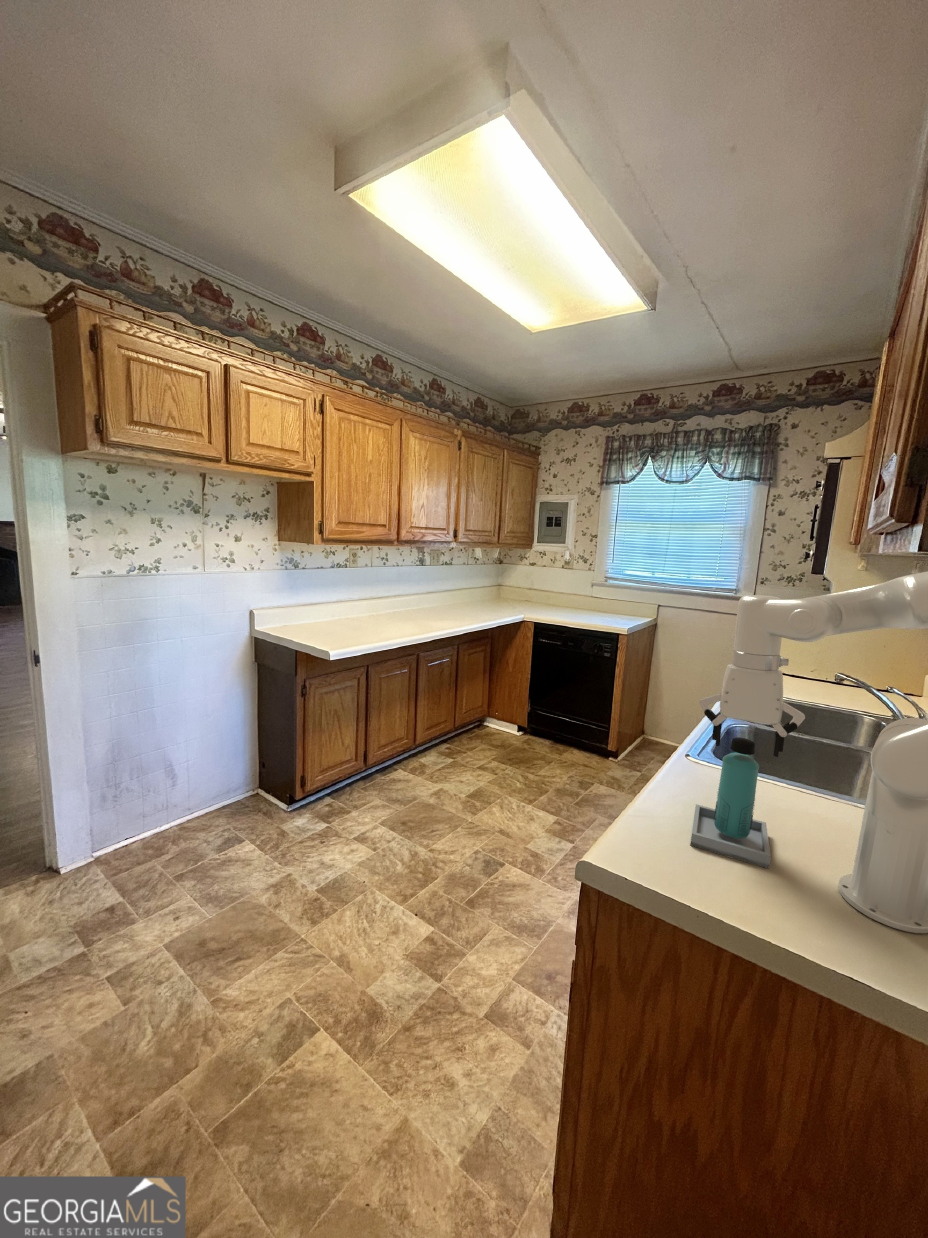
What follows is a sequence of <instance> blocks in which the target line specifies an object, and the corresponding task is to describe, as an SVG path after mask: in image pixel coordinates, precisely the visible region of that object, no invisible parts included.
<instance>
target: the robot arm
mask: <svg viewBox="0 0 928 1238" xmlns="http://www.w3.org/2000/svg"><path fill="white" fill-rule="evenodd" d="M735 621H736V622H735V629H734V641H733V642H734V643H733V649H732V651H733V652H732V658H731V659H732V660H731V661H732V662H731V663H729V664H727V666H726V668H725V672H724V675H723V678H722V680H723V681H722V686H721V690H720V691H721V692H720V693H716V694H712V695H708V696H706V697H705V696H704V697H703V698H700V699H699V704H700V707H701V708H702V711H703V713H704V715H705V716H706V718H707V719H708V720H709V722H711V724H712V725H713V727H712V737H711V740H712V741H715V747H720V746H721V735H722V727H723V726H722V725H723V724H722V722H724V721H725V720H727V719H729V720H736V721H741V722H742V721H743V722H749V723H754V724H761V725H769V726H772V727H773V728H774V730H775V732H774V733H773V741H772V742H773V743H772V752H771V753H772V755H773V757H775V758H779V753H783V751H784V745H785V737H787V736H788V735H789V734H791V733H792V732H794V731H796V730H797V729H798V728H799V726H800V725H801V724H802V723H803V721H804V720H805V719H806V716H805V714H804V712H802V711H800V710H798V709H796V708H794V707H793V706H791V705H790V704H788V703H786V702H785V701H784V677H783V671H782V670H781V669H780V668H781V667H784V666H785V667H788V666H789V662H790V661H789V660H790V659H789V658H786V657H785V658H784V657H783V656H781V646H782V640H783V639H787V640H791V641H795V642H800V643H813V642H817V641H819V640H822V639H824V638H826V637H829V636H837V635H842V634H850V633H857V632H864V631H871V630H882V629H883V630H885V629H903V630H920V629H922V630H923V629H928V571H922V572H917V573H913V574H911V573H910V574H907V575H902V576H900V577H896V578H893V579H891V580H888V581H885V582H881V583H878V584H873V585H870V586H869V585H868V586H863V587H860V588H855V589H849V590H844V591H838V592H833V593H832V592H831V593H827V594H823V595H817V596H809V597H804V598H794V599H793V598H791V599H785V598H780V597H779V596H775V595H762V594H761V595H760V594H759V595H758V594H747V595H746V594H745V595H743V596H741V597H740V599H739V600H738V604H737V611H736V619H735ZM718 702H719V711H718V713H715V712H714V711H713V710H712V709H711V707H710V705H712V704H715V703H718ZM783 712H785V713H787V714H788V715H790V716H792V719H791V720H790V721H788V722H787V723H785V724H782V722H781V721H782V717H783V716H782V715H783ZM870 766H871V770H872V772H871V776H870V780H869V785H868V789H867V796H866V801H865V805H864V810H863V815H862V821H861V826H860V831H859V836H858V841H857V847H856V848H857V849H856V853H855V858H854V863H853V869H852V873H850V874H844V875H842V876H841V877H840V879H839V880H838V884H837V889H838V892H839V893H840V895H841V896H842V897H843V899H844V900H845V901H846V902H847V903H848V904H849V905H850V906H852V907H853V908H854V909H856V910H857V911H859V912H860V913H861V914H864V916H866V917H868V918H870V919H872V920H874V921H876V922H878V923H881V924H882V925H885V926H887V927H891V928H894V929H896V930H900V931H903V932H908V933H914V934H928V719H925V718H920V717H919V718H918V717H906V718H901V719H896V720H895V721H892V722H890V723H889V724H887V725H886V726H885V727H884V728H883V729H882V730H881V731H880V732H879V734H878V736H877V737H876V740H875V743H874V746H873V747H872V750H871V753H870Z"/></svg>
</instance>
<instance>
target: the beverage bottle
mask: <svg viewBox="0 0 928 1238" xmlns="http://www.w3.org/2000/svg"><path fill="white" fill-rule="evenodd" d="M731 739H732V740H731V744H730V746H729V748H730V750H731V751H733V752H730V753H728V754H726V755H724V756H723V757H722V764H721V770H720V771H721V772H720V777H719V778H720V779H719V783H718V789H717V790H718V791H717V792H716V795H717V797H716V803H715V808H714V809H715V816H714V819H715V820H714V824H715V827H716V828H717V829H718V830H719V831H720V832H722V833H723V834H725V835H728V836H731V837H735V838H745V837H747V836H748V835H749V834H750V833H751V832H750V829H751V826H752V819H754V811H755V802H756V794H757V791H756V790H757V784H758V783H757V782H758V776H759V770H760V765H759V763H758V762H757V761H756V760H755V759H754V757H752V756H753V755H755V753H756V743H755V742H754V740H751V739H749V738H745V737H741V736H739V737H737V736H736V737H733V738H731Z"/></svg>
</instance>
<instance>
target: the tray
mask: <svg viewBox="0 0 928 1238" xmlns="http://www.w3.org/2000/svg"><path fill="white" fill-rule="evenodd" d="M714 816H715V808H713V807H708V806H704V805H701V804H695V810H694V816H693V822H692V829H691V837H690V844H689V846H691V847H694V848H698V849H700V850H705V851H708V852H711V853H715V854H718V855H721V856H725V857H728V858H730V859H734V860H738V861H741V862H745V863H747V864H751V865H755V866H758V867H762V868H764V869H768V870H769V869H770V862H771V858H772V857H771V848H770V843H769V835H768V834H769V833H768V828H767V822H765V821H762V820H757V819H754V818H753V819H752V826H751V829H750V832H751V833H750V834H749V835H748V836H747V837H745V838H735V837H731V836H728V835H725V834H723V833H722V832H720V831H719V830H718V829H717V828H716V827H715V824H714V820H715V819H714Z"/></svg>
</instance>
